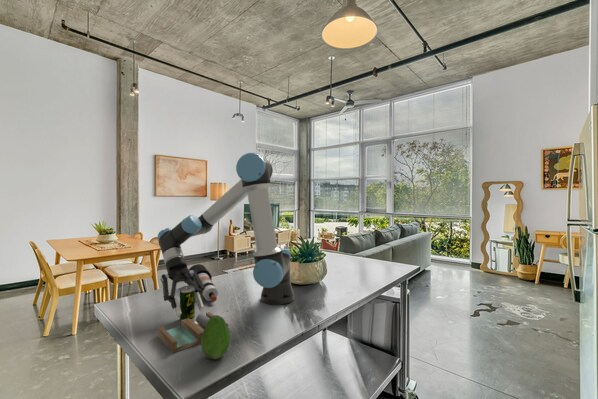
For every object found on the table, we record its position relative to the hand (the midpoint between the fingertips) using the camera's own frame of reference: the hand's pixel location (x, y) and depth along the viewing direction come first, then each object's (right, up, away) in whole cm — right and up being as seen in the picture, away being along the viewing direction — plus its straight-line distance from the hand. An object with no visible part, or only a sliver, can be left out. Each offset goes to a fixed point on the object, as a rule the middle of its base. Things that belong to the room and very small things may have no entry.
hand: (191, 311), depth 102 cm
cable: (-6, -4, +32) cm, 32 cm away
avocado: (+16, -4, -23) cm, 28 cm away
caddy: (+4, -4, -9) cm, 11 cm away
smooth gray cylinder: (+8, -3, -6) cm, 10 cm away
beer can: (-2, -4, +2) cm, 5 cm away
